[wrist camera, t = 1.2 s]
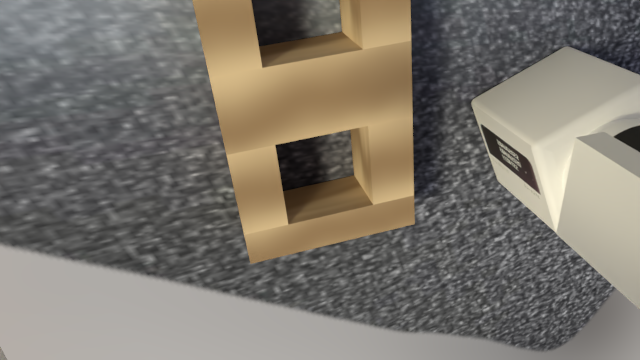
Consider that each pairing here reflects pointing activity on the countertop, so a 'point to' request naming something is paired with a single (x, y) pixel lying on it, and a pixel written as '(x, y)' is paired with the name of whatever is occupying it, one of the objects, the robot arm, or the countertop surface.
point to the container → (554, 122)
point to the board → (314, 121)
